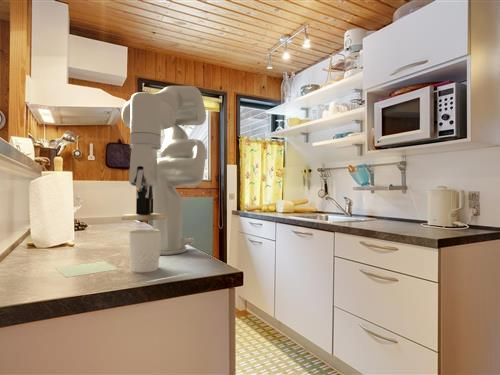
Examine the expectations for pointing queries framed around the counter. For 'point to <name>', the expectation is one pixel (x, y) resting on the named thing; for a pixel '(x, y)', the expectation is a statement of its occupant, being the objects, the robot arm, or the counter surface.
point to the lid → (144, 216)
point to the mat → (86, 269)
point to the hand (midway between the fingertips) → (144, 213)
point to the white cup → (144, 250)
